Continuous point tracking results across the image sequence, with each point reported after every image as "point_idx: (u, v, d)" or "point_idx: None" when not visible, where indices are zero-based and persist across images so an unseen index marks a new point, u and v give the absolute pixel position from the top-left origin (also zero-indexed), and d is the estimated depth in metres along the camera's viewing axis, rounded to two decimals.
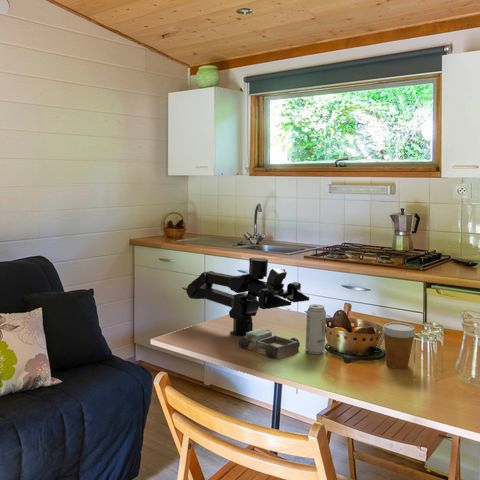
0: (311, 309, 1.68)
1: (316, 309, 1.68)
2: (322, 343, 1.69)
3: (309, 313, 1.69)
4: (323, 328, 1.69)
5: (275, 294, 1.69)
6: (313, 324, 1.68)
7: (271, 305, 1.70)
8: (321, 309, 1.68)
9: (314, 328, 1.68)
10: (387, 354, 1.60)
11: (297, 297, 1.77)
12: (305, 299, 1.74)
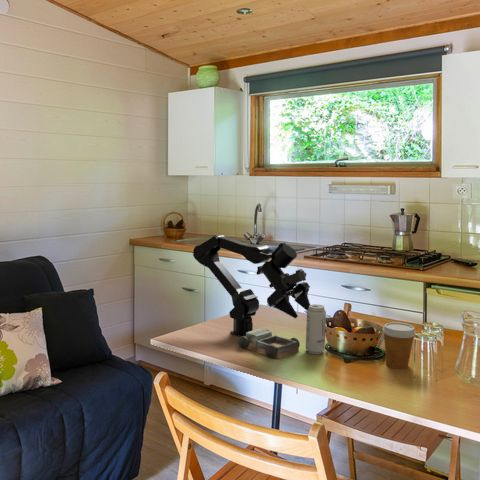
0: (311, 309, 1.68)
1: (316, 309, 1.68)
2: (322, 343, 1.69)
3: (309, 313, 1.69)
4: (323, 328, 1.69)
5: (287, 300, 1.69)
6: (313, 324, 1.68)
7: (278, 306, 1.71)
8: (321, 309, 1.68)
9: (314, 328, 1.68)
10: (387, 354, 1.60)
11: (301, 301, 1.79)
12: (307, 309, 1.77)
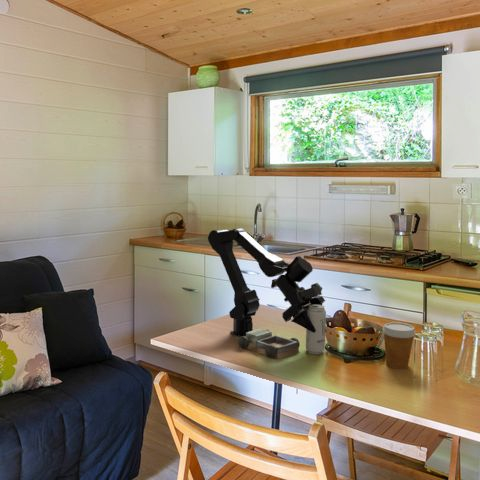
0: (311, 309, 1.68)
1: (316, 309, 1.68)
2: (322, 343, 1.69)
3: (309, 313, 1.69)
4: (323, 328, 1.69)
5: (306, 315, 1.68)
6: (313, 324, 1.68)
7: (296, 320, 1.69)
8: (321, 309, 1.68)
9: None
10: (387, 354, 1.60)
11: None
12: None
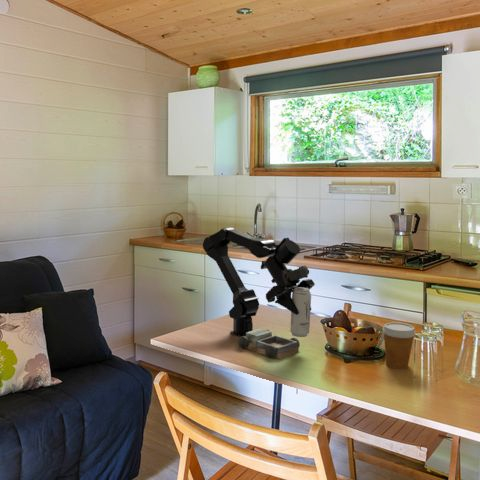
0: (295, 291, 1.67)
1: (300, 291, 1.66)
2: (306, 326, 1.68)
3: (293, 295, 1.67)
4: (307, 311, 1.67)
5: (289, 296, 1.67)
6: (297, 306, 1.67)
7: (280, 301, 1.68)
8: (305, 292, 1.66)
9: None
10: (387, 354, 1.60)
11: None
12: None
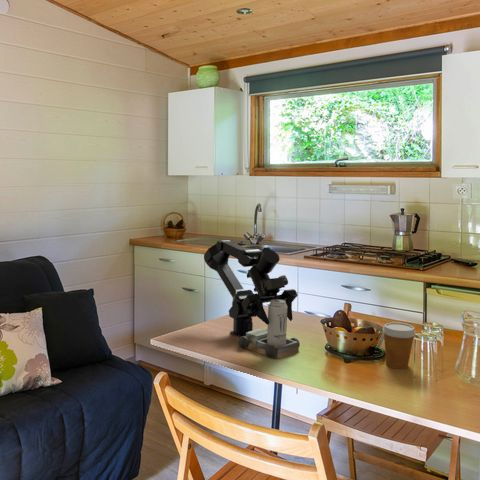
0: (270, 303, 1.69)
1: (274, 303, 1.67)
2: (280, 338, 1.68)
3: (268, 307, 1.69)
4: (281, 323, 1.68)
5: (260, 306, 1.68)
6: (271, 318, 1.68)
7: (253, 310, 1.70)
8: (279, 304, 1.67)
9: (271, 322, 1.68)
10: (387, 354, 1.60)
11: None
12: (288, 317, 1.72)
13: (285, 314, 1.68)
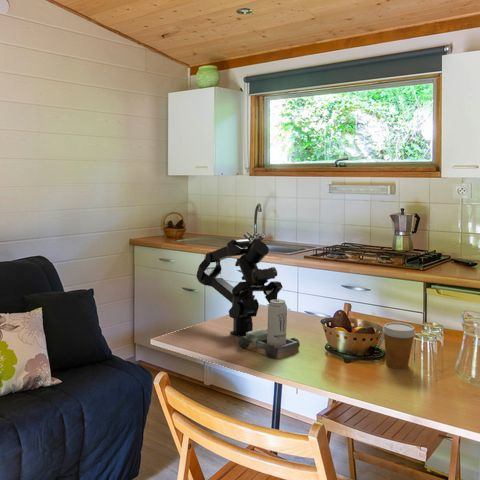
0: (270, 303, 1.69)
1: (274, 303, 1.68)
2: (280, 338, 1.68)
3: (268, 307, 1.69)
4: (281, 323, 1.68)
5: (251, 294, 1.74)
6: (271, 318, 1.68)
7: (242, 298, 1.76)
8: (279, 304, 1.67)
9: (271, 322, 1.68)
10: (387, 354, 1.60)
11: (270, 298, 1.82)
12: None
13: (285, 314, 1.68)
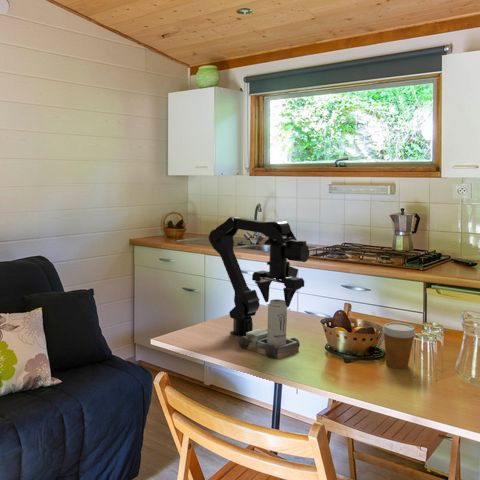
0: (270, 303, 1.69)
1: (274, 303, 1.68)
2: (280, 338, 1.68)
3: (268, 307, 1.69)
4: (281, 323, 1.68)
5: None
6: (271, 318, 1.68)
7: (289, 290, 1.73)
8: (279, 304, 1.67)
9: (271, 322, 1.68)
10: (387, 354, 1.60)
11: (265, 288, 1.82)
12: (266, 298, 1.82)
13: (285, 314, 1.68)
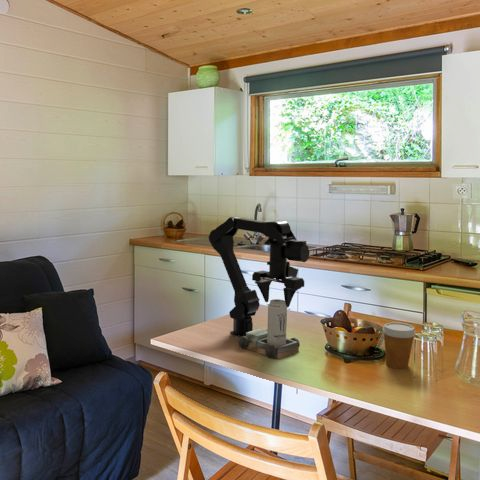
0: (270, 303, 1.69)
1: (274, 303, 1.68)
2: (280, 338, 1.68)
3: (268, 307, 1.69)
4: (281, 323, 1.68)
5: None
6: (271, 318, 1.68)
7: (289, 290, 1.73)
8: (279, 304, 1.67)
9: (271, 322, 1.68)
10: (387, 354, 1.60)
11: (265, 288, 1.82)
12: (266, 298, 1.82)
13: (285, 314, 1.68)
